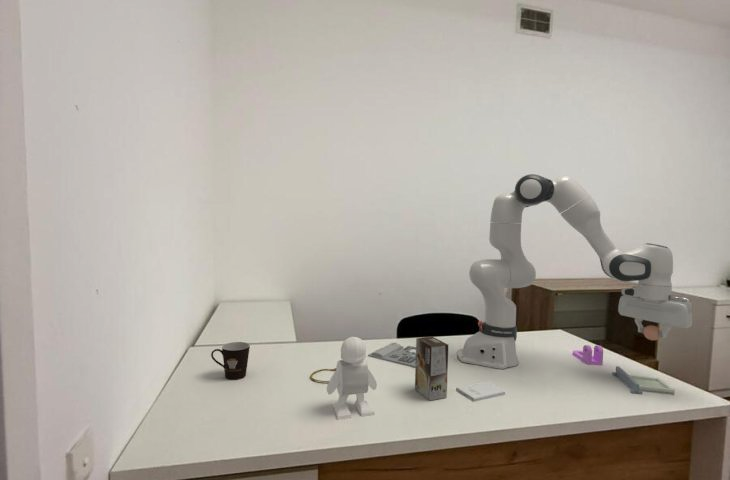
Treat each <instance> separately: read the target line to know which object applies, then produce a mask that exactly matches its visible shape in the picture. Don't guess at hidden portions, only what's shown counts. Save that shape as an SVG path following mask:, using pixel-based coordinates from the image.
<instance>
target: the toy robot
mask: <svg viewBox="0 0 730 480" xmlns="http://www.w3.org/2000/svg"><path fill="white" fill-rule="evenodd" d="M366 354H367V348H366V344H365V343H364V341H363V339H361V338H360V337H357V336H351V337H350V336H349V337H347V338H346V339H345V340H343V342H342V344H341V348H340V360H338V361H337V362H336V369H335V370H336V371H334V372H333V374H332V376H331V378H330V379H329V380H328V381H329V382H327V383H328V384H327V386H326V392H327V394H328V395H329V396H330V395H332V394H333V393H334V392H335V390H336V389H337V393H338V402H337V403H335V404H333V411H334V413H335V415H336V419H337V420H343V419H344V420H345V419H351V418H352V415H351V414H352V413H351V410H350V409H349V407H348V404H347V399H348V397H349V395H350V396H351V395H356V400H355V401H354V406H355V408H356V409H357V411H358V414H360V416H361V417H367V416H374V415H375V410H374V409H373V408H372V407H371V406H370V404H369V403H368V401H367V400H365V394H366V393H368V391H369V388H370V389H372V390H373V391H375V390H376V389H377V381H376V379H375V377H374V375H373V373H372V372H371V371H370V369H369V368H368V367H369V366H368V362H367V360H366V357H367V355H366Z"/></svg>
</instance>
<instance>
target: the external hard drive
mask: <svg viewBox="0 0 730 480" xmlns="http://www.w3.org/2000/svg"><path fill="white" fill-rule="evenodd" d="M455 391H456V392H458V393H459V394H460V395H463V396H465V397H466V398H468V399H469V400H471V401H472V402H478V401H483V400H487V399H492V398H495V397H500V396H503V395H506V390H504V389H503V388H500V387H498V386H497V385H495V384H493V383H492V382H490V381H487V380H486V381H481V382H476V383H471V384H467V385H462V386H458V387H455Z"/></svg>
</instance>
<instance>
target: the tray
mask: <svg viewBox="0 0 730 480" xmlns="http://www.w3.org/2000/svg"><path fill="white" fill-rule="evenodd" d="M628 375H629V376H630V377H631V378H633V379H634V380H635V381H636V382H637V383H638V384H639V390H641V391H642V392H648V393H649V392H650V393H657V394H665V395H675V389H674V388H673V387H671V386H669V385H668V384H667V383H666V382H665V381H663V380H662V379H661V378H659V377H650V376H643V375H636V374H635V375H633V374H628Z"/></svg>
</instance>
